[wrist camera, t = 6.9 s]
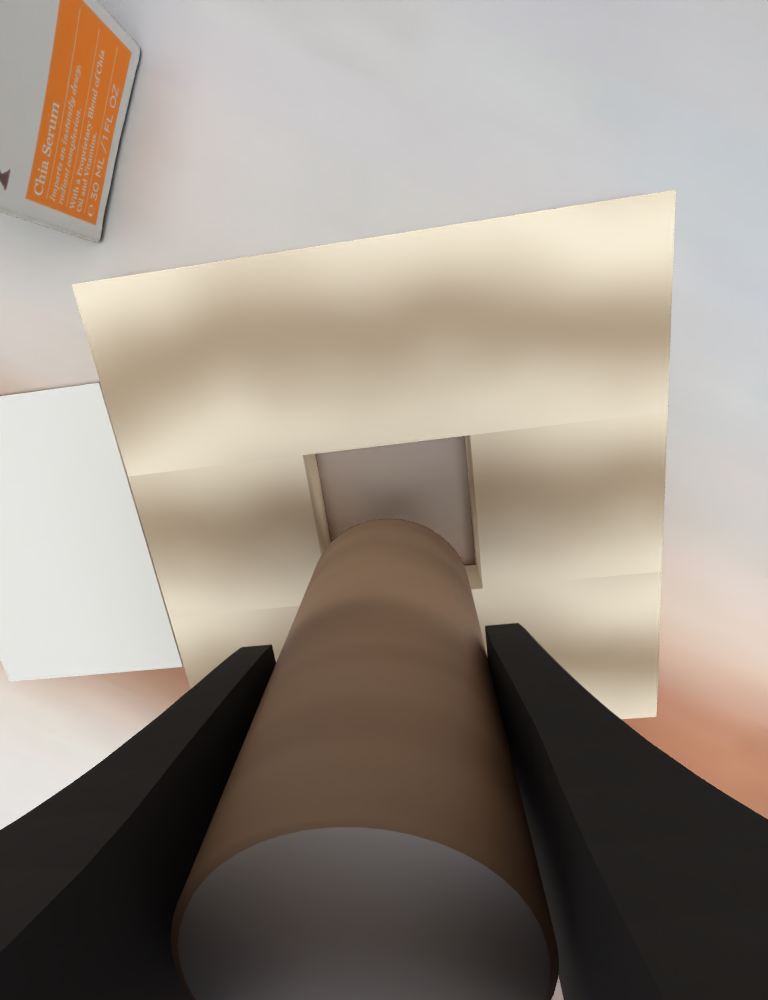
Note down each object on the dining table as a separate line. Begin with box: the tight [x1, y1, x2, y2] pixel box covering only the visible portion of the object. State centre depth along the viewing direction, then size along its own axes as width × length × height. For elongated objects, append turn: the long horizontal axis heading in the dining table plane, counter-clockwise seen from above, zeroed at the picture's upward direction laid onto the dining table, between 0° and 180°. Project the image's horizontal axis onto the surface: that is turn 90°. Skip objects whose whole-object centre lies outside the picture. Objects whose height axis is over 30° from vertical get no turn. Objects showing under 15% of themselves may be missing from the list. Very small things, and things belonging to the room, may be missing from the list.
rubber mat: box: [0, 383, 184, 682], centre depth 20 cm, size 12×8×1 cm, turn 8°
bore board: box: [72, 190, 676, 719], centre depth 18 cm, size 18×18×2 cm
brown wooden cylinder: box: [170, 519, 559, 1000], centre depth 9 cm, size 4×4×8 cm
